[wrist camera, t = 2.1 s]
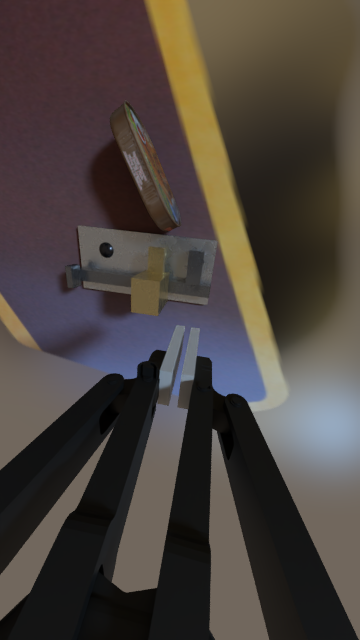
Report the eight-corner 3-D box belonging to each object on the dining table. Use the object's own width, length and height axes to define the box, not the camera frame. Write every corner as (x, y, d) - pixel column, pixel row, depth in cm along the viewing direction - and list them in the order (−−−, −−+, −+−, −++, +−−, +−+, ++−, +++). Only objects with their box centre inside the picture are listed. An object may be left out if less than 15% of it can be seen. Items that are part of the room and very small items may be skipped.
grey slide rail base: (78, 236, 36) (61, 236, 31) (215, 252, 33) (216, 254, 29) (83, 281, 39) (67, 287, 35) (208, 298, 37) (207, 307, 33)
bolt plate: (81, 225, 36) (77, 225, 35) (217, 240, 34) (217, 241, 33) (86, 286, 40) (83, 287, 39) (207, 303, 38) (207, 305, 37)
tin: (185, 226, 34) (177, 224, 26) (168, 234, 34) (156, 235, 27) (143, 119, 29) (118, 79, 21) (125, 132, 30) (95, 98, 22)
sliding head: (150, 244, 34) (131, 248, 26) (173, 247, 34) (161, 252, 26) (148, 294, 38) (131, 311, 30) (169, 297, 37) (157, 315, 29)
